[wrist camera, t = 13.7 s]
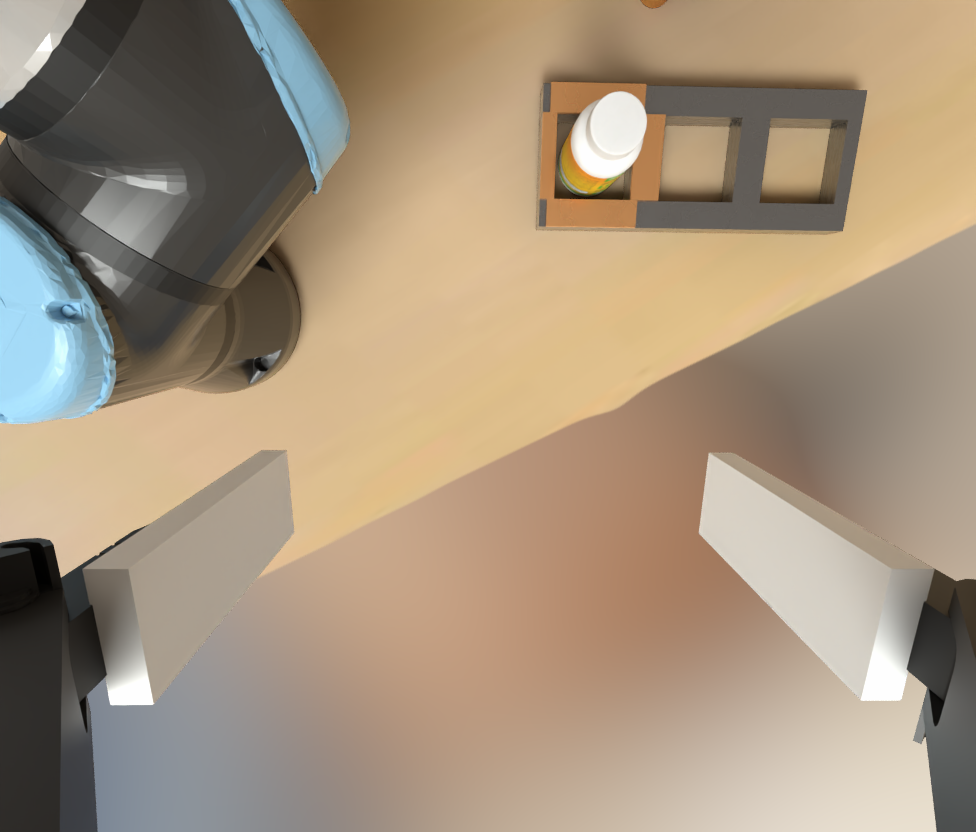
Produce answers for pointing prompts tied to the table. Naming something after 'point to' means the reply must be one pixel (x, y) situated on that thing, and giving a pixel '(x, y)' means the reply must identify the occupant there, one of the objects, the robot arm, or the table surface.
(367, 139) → the table surface
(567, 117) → the hole rail
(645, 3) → the binoculars
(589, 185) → the supplement bottle
